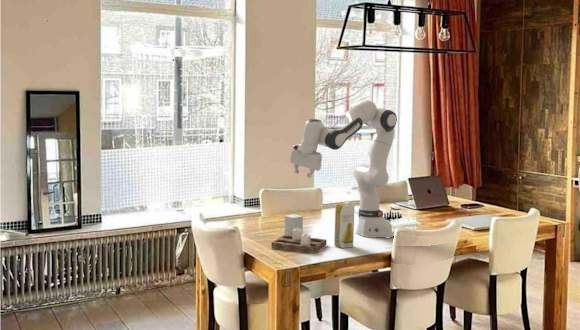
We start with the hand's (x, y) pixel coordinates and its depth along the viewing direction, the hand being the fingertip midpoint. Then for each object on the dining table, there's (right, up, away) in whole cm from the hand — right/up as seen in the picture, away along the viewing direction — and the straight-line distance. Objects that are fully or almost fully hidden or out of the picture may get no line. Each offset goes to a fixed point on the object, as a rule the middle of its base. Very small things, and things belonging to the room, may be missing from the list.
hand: (302, 175), depth 336 cm
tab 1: (-3, -35, +6) cm, 36 cm away
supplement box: (-5, -35, +18) cm, 40 cm away
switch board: (-2, -37, +1) cm, 37 cm away
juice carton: (+22, -38, +4) cm, 44 cm away
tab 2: (+1, -37, -5) cm, 37 cm away
